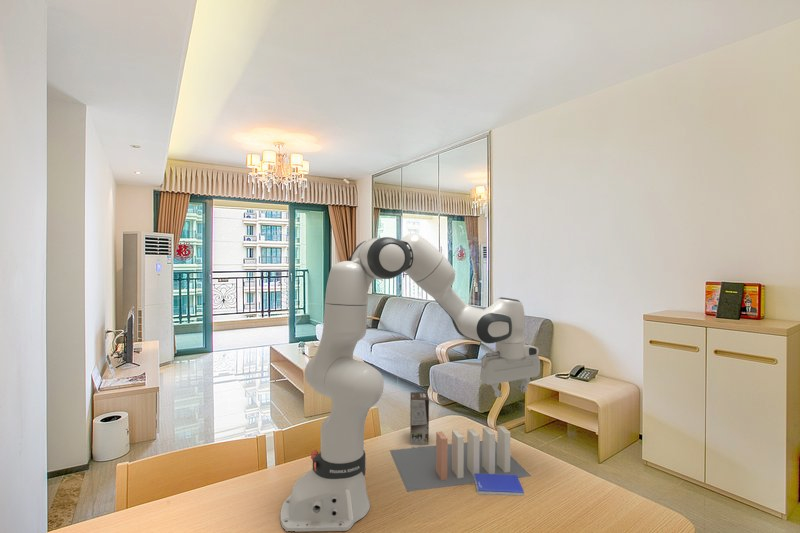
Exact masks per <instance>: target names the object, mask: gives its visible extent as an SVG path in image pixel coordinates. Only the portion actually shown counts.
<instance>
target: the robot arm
mask: <svg viewBox="0 0 800 533" xmlns="http://www.w3.org/2000/svg"><path fill="white" fill-rule="evenodd" d="M403 273H405V274H406V275H408V277H409V278H410V279H411V280H412V281H413V282H414V284H416V285H417V286H418V287H419V288H420V289H422V290H423V291H424V292H425V293H427V294H428V295H429V296H431V298H433V299H434V300H435V302H436V303H438V305H439V306H440V307H441V308H442V310H444V312H445V313H446V314H447V315H448V316H449V318H450V320H451V321H452V323H453V327H454V330H456V333H458V334H459V335H460V336H462V337H464V338H468V339H472V340H475V341H478V342H480V343H483V344H495V351H494V352H493V351H492V352H486V353H485V354H484V355H483V356H482V357H481V358H480V359H481V360H480V361H481V363H480V364H481V365H480V366H481V367H480V373H479V374H480V375H479V377H480V378H479V379H480V381H481V382H482V383H484V384H486V385H487V386H491V388H492V389H493V391H494V397H496V398H501V397H502V396H503V392H502V391H503V390H500V389H499V388H498V387H500V384H502V383H508V382H513V381H519V380H522V383H521V385H519V392H520V393H522V394H523V393H527V392H528V386H529V384H530V382H531V378H536V377H539V376H540V373H541V360H540V359H541V358H540V356H539V354H540V350H539V348H538V347H537V346H534V345H530V344H527V343H526V338H525V334H524V332H525V328H526V324H525V322H526V320H525V319H526V318H525V308H524V305H523V303H522V302H521V301H520V300H519V299H517V298H516V299H515V298H508V297H501V296H500V297H497V299H496V301H495V302H493V304H492V303H491V305H490V306H488V307H486V308H484V309H483V308H478V307H475V306H472V305H469V304H468V303H465V301H464V300H462V298H461V297H460V296H459V294H457V293H456V291H455V290H454V289H453V287H452V286H453V284H454V282H455V279H456V278H455V277H456V271H455V269H454V267H453V265H452V264H451V263H450V261H449V260H448V258H446V257H445V256H444V254H442V253H441V252H440V251H439V250H438V248H436V247H435V246H434V245H433V243H431V242H429V241H428V240H427V239H425V238H424V237H422V236H421V235H419V234H417V233H410V234H406V235H405V236H403V237H402V238H401V239H397V238H395V237H389V236H383V237H373V238H369V239H367V240H364V241H362V242H360V243H359V244H358V245H357V246H356V247H355V248H354V250H353V252H352V253H351V255H350V257H349V258H348V260H344V261H339V262H336V263H335V264H334V265H332V267H331V268H330V271H329V273H328V278H327V283H326V288H325V289H326V290H325V297H324V311H323V312H324V313H323V314H324V315H323V326H322V334H321V338H320V342H319V344H318V348H317V350H316V352H315V354H314V355H313V356H312V357H310V359H309V360H308V362H307V364H306V366H305V370H304V377H305V380H306V383H307V384H308V385H309V387H310V388H312V389H313V390H314V391H315V392H317V393H318V394H320V395H323V396H325V397H327V398H329V399H331V404H332V405H331V410H330V414H329V415H328V416H327V417H326V418H325V419H324V420H322V422H321V425H320V452H319V451H318V450H315V449H314V450H312V451H311V452H310V459H311V460H312V468H311V469H310V470H308V471H307V472H306V473H305V474H303V475H302V476H300V477H299V478H298V479H297V480H296V481H295V483H294V484H293V487H292V488H291V492H290V495H289V496H288V497H287V498H286V499H285V500H284V501H283V503H282V505H281V509H280V515H279V516H280V518H279V521H280V525H281V527H282V529H283V528H284V529H285V532H288V531H295V532H304V533H305V532H347V531H349V530H351V528H352V527H353V526H354V524H355V523H357V522H358V521H360V520H362V519H363V518H365V516H366V515H367V514H368V513H369V511H370V507H371V502H370V500H369V495H368V492H367V485H366V484H367V483H366V478H365V475H366V469H367V457H366V451H365V445H364V444H365V424H366V420H367V417H368V413H369V411H370V409H371V408H372V407H374V406H375V405H376V404H377V403H378V402H379V401H380V399H381V397H382V395H383V393H384V387H385V384H384V383H385V382H384V377H383V375H382V373H381V372H380V371H379V370H378V369H377V368H376V367H374V366H372V365H370V363H367V362H365V361H361V360H358V359H355V358H353V357H354V351H355V349H356V346H357V343H359V341H361V340H362V339H363V338H364V337H365V336H366V333H367V323H368V301H369V298H368V296H369V295H368V294H369V290H370V286H371V284H372V282H373V281H375V280H390V279H394V278H396V277H398V276H399V275H401V274H403ZM284 529H283V530H284Z"/></svg>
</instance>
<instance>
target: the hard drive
mask: <svg viewBox="0 0 800 533" xmlns="http://www.w3.org/2000/svg"><path fill="white" fill-rule="evenodd" d="M474 481H475V483H474V484H475V488H476V493H477V495H490V496H491V495H494V496H525V491H524V488H523V486H522V483H521V482H520V481H521V480H519V478H518V477H517V475H502V474H479V473H474Z"/></svg>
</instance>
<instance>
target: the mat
mask: <svg viewBox="0 0 800 533" xmlns="http://www.w3.org/2000/svg"><path fill="white" fill-rule="evenodd" d="M389 452H390V454H391V457H392V460H393V461H394V465H395V467H396V468H397V471H398V474H399V476H400V478H401V480H402V482H403V485H404V487H405V490H406V492H416V491H417V492H418V491H424V490H425V491H426V490H431V489H440V488H447V487H448V488H449V487H456V486H462V485H463V486H464V485H471V484H472V485H473V484H475V481H474V476H473V475H472V473H471V472H470V471H469V470H468V468H467V442H464V475H463V478H457V476H456V475H455V474H454V472H453V471H452V443H449V444H448V443H447V480H441V479H440V477H439V475H438V474H437V472H436V445H426V446H419V447H408V448H400V449H399V448H397V449H389ZM479 474H489V473H488V472H487V471H486V470H485V469H484V468H483V466H482V440H480V445H479ZM495 474H502V475H517V477H518V479H519V478H527V477H532V475H531V474H530V473H529V472H528V470H526V468H525V467H523V466H522V465H521V464H520V463H519V462H518V461H517V460H515V458H514V457H513V456H511V455H510V472H504V471H503V470H502V469H501V468H500V467H499V466H498V465H497V440H495Z"/></svg>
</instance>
